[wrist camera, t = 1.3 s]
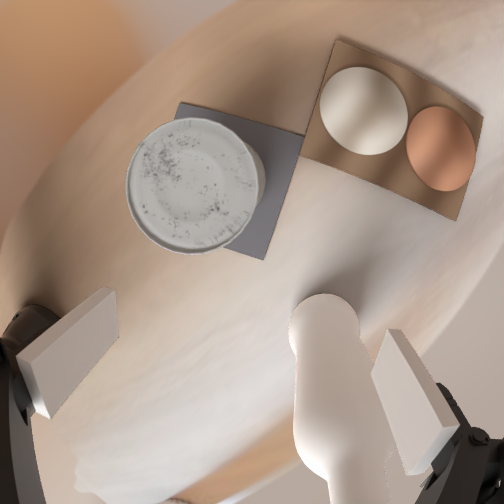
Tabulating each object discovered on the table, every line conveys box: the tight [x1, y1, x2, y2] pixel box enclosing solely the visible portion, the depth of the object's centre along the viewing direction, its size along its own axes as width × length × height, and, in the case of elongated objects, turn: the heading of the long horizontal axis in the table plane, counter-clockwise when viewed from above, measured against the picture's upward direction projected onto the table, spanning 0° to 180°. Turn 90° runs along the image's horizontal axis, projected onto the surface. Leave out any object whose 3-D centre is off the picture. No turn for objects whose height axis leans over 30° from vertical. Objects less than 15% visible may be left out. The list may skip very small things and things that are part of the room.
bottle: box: [288, 293, 396, 504], centre depth 21 cm, size 8×8×30 cm
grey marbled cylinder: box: [125, 117, 266, 255], centre depth 26 cm, size 10×10×12 cm
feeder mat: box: [174, 103, 304, 260], centre depth 32 cm, size 14×14×1 cm
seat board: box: [299, 40, 483, 221], centre depth 28 cm, size 20×14×2 cm
